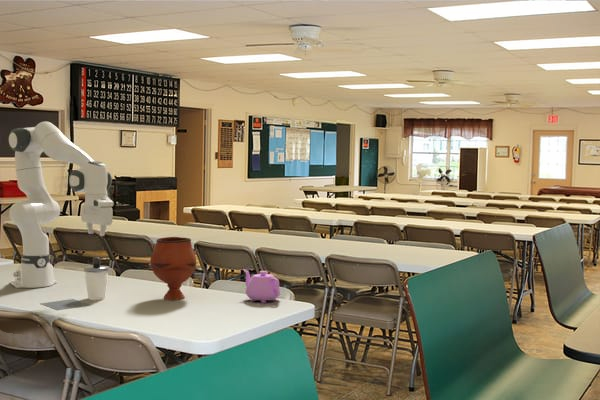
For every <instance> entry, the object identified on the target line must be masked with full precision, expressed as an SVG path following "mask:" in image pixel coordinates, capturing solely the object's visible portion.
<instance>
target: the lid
mask: <svg viewBox="0 0 600 400" xmlns="http://www.w3.org/2000/svg"><path fill="white" fill-rule="evenodd" d="M83 271H84V272H85V273H86V272H104V271H110V266H108V265H101V257H99V256H97V257H92V265H89V266H88V265H87V266H85V267H83Z"/></svg>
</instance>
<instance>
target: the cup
mask: <svg viewBox="0 0 600 400" xmlns="http://www.w3.org/2000/svg"><path fill="white" fill-rule="evenodd" d="M84 276H85V277H84V278H85V285H86V291H87V297H88V300H90V301H100V300H101V301H102V300H106V295H107V286H108V282H109V273H108V271H104V272H85V275H84Z"/></svg>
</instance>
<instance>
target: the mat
mask: <svg viewBox="0 0 600 400" xmlns="http://www.w3.org/2000/svg"><path fill="white" fill-rule="evenodd" d="M39 305H41V306H45V307H48V308H50V309H53V310H55V311H61V310H69V309H74V308H75V309H77V308H81V307H82V308H84V307H89V306H91V304H90V303H86V302H83V301H81V300H80V301H79V300H77V299H74V298H70V299H63V300H56V301H50V302H49V301H48V302H42V303H39Z"/></svg>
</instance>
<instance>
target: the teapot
mask: <svg viewBox="0 0 600 400" xmlns="http://www.w3.org/2000/svg"><path fill="white" fill-rule="evenodd" d="M242 271H244V273H245V286H246V288H245V295H246V296H247V297H248V298H249V299H250V301H251V302H255V301H260V303H261V304H266V303H267V301H272V302H275V301H276V299H278V297H280V296H281V288H280V280H279V278H277V277H275V276H274V275H273V274H271V273H267V271H266V270H260V271H259V273H257V274H253V275H252V276H251V274H250V272H249V271H248V270H247V269H245V268H244V269H242Z"/></svg>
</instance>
